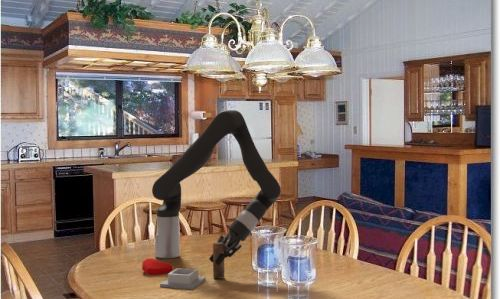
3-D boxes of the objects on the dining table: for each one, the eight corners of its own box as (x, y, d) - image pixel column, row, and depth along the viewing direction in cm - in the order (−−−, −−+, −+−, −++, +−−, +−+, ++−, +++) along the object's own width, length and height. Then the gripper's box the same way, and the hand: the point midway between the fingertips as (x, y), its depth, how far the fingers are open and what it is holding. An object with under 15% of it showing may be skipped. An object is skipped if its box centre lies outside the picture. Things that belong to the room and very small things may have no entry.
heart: (160, 282, 198) (174, 272, 207) (161, 271, 197) (175, 262, 206) (132, 273, 202) (148, 264, 212) (133, 262, 202) (149, 254, 211)
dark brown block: (211, 277, 195) (211, 244, 194) (215, 275, 199) (215, 242, 198) (222, 278, 194) (222, 245, 193) (225, 275, 197) (225, 242, 197)
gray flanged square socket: (160, 286, 186) (159, 275, 186) (174, 277, 197) (174, 266, 197) (192, 289, 183) (192, 277, 182) (205, 279, 194) (205, 268, 194)
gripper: (228, 216, 205) (198, 251, 200) (246, 221, 193) (215, 260, 187) (240, 228, 208) (212, 264, 202) (259, 235, 195) (229, 273, 190)
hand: (213, 262), depth 195 cm, fingers closed on dark brown block, 4 cm apart
